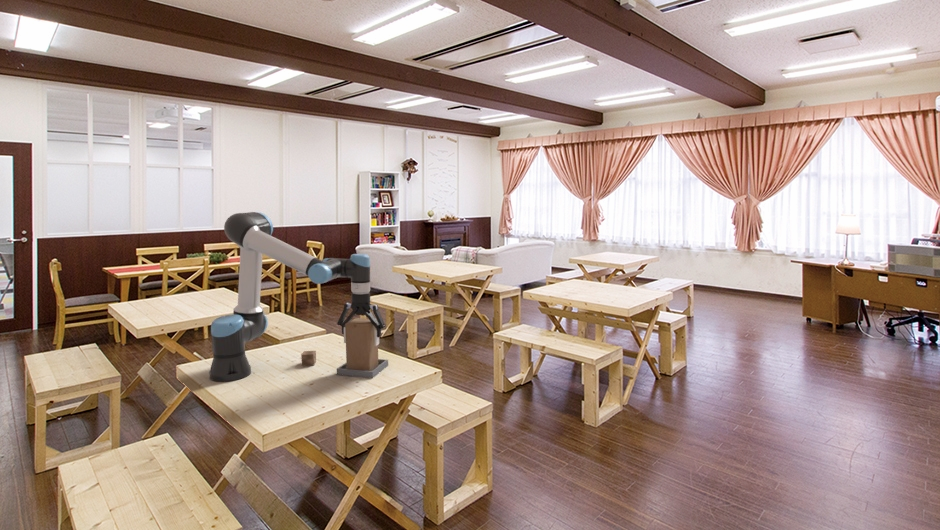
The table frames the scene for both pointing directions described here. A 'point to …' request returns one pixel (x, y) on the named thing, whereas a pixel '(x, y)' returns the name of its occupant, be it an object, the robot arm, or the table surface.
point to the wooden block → (361, 345)
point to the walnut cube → (308, 358)
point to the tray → (361, 373)
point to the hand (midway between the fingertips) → (361, 343)
